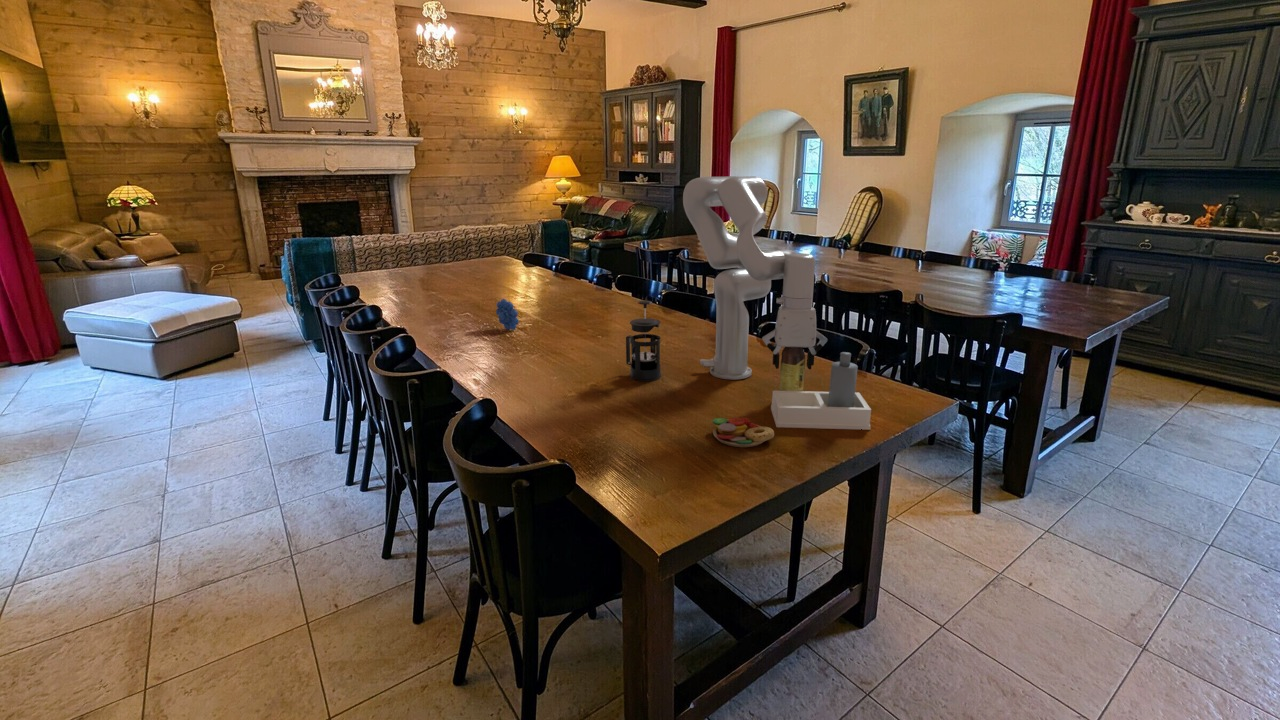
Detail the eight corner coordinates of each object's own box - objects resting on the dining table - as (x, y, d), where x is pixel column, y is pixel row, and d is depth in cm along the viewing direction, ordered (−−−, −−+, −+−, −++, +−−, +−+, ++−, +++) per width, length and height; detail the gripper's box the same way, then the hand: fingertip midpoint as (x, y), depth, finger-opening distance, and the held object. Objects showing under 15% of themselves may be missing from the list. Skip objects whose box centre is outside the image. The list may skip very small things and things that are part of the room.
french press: (668, 374, 183) (669, 300, 176) (652, 384, 176) (652, 306, 169) (636, 368, 189) (635, 296, 182) (619, 377, 182) (617, 301, 175)
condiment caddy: (776, 427, 146) (780, 360, 141) (770, 408, 158) (774, 345, 152) (870, 429, 144) (878, 361, 139) (857, 410, 156) (864, 346, 150)
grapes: (489, 329, 236) (486, 299, 232) (503, 326, 241) (500, 296, 237) (510, 334, 229) (507, 303, 226) (523, 330, 234) (521, 299, 231)
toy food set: (779, 446, 137) (780, 433, 136) (725, 454, 134) (726, 440, 133) (752, 423, 149) (753, 411, 148) (702, 430, 146) (703, 417, 145)
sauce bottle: (803, 404, 160) (808, 331, 154) (778, 402, 161) (783, 330, 155) (801, 395, 166) (807, 324, 160) (778, 393, 167) (782, 324, 161)
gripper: (764, 305, 153) (760, 371, 158) (835, 306, 151) (829, 372, 157) (761, 299, 160) (758, 362, 165) (828, 299, 158) (823, 363, 164)
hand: (792, 367), depth 161 cm, fingers open, 7 cm apart
